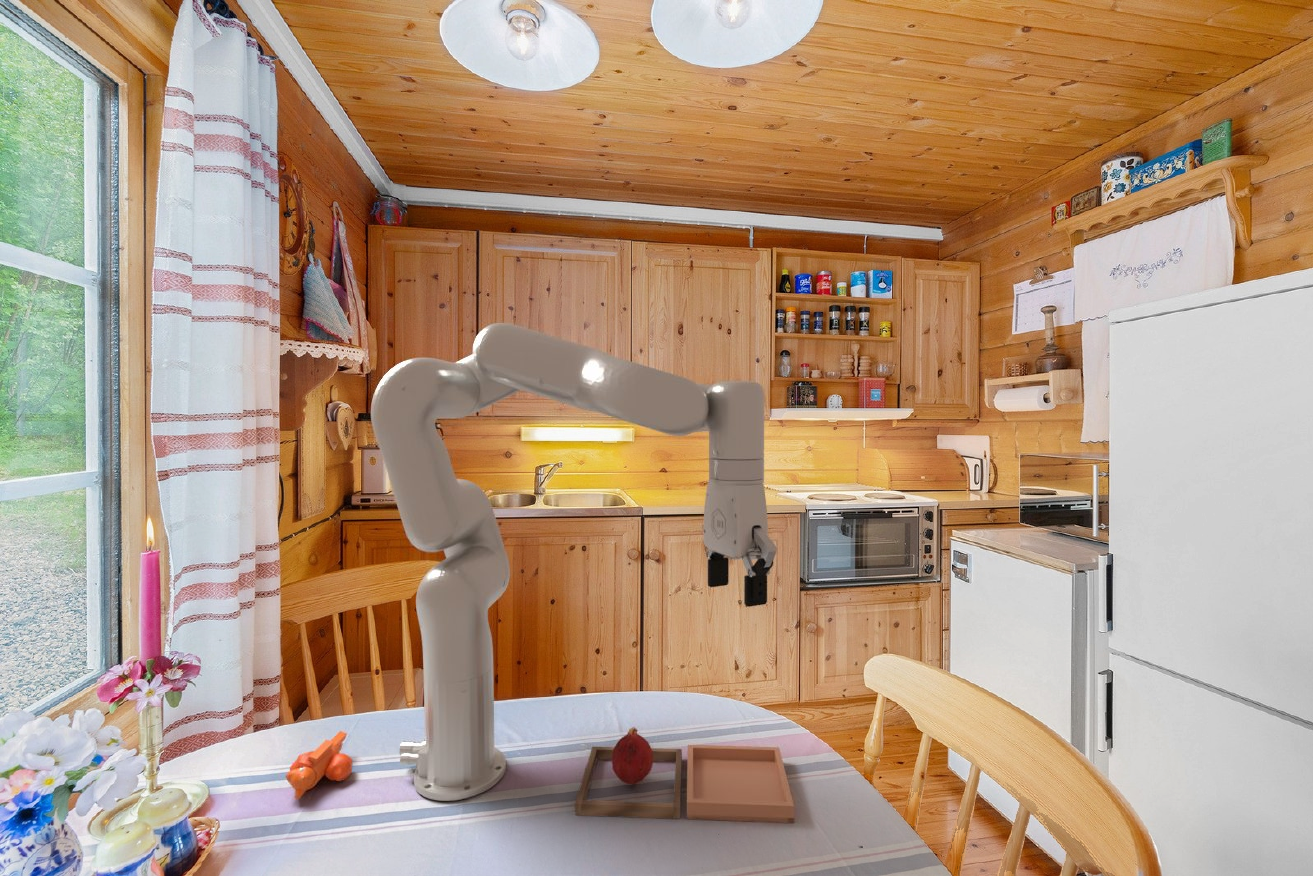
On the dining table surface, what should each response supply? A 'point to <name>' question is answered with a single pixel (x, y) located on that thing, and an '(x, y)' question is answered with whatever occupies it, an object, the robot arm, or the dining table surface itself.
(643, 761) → the onion
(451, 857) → the dining table surface
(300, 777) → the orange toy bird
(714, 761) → the terracotta tray
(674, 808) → the walnut frame
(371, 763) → the dining table surface
